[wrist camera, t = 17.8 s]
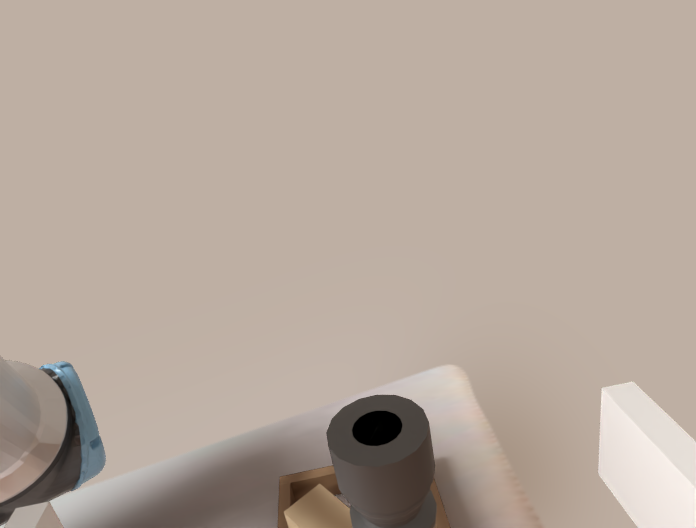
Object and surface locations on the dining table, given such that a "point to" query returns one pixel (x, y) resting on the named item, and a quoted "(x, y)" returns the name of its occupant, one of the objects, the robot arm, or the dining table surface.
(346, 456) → the candle holder
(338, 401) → the dining table surface
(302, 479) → the walnut caddy
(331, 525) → the offcut upper
